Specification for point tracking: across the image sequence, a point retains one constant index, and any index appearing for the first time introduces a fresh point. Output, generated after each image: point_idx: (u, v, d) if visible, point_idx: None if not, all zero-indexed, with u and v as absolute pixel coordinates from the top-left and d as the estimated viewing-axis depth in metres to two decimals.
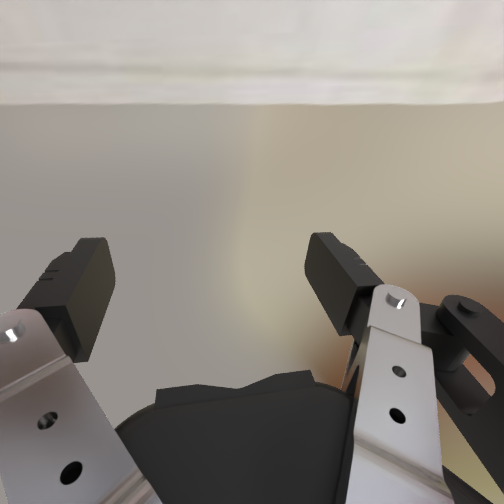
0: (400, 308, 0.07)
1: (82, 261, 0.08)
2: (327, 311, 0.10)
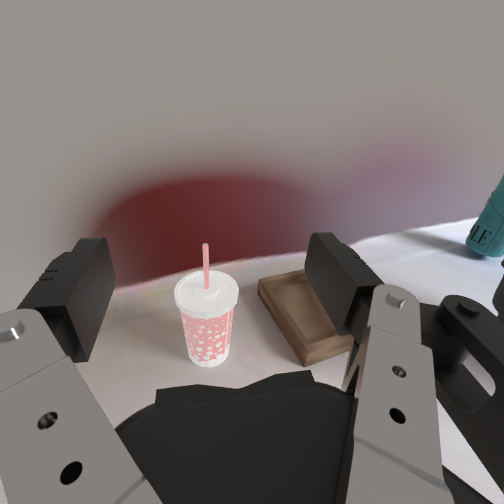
0: (400, 308, 0.07)
1: (82, 261, 0.08)
2: (327, 311, 0.10)
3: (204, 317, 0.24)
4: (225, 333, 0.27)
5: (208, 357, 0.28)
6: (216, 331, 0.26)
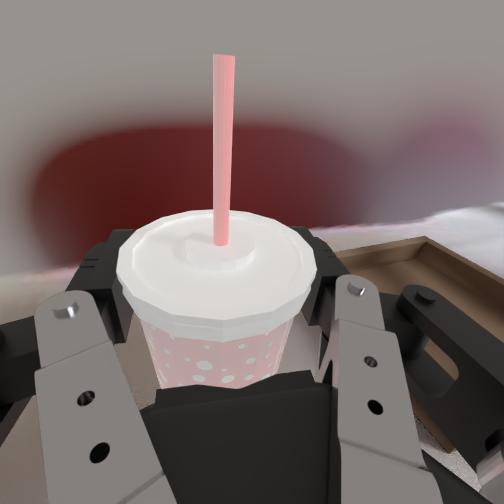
0: (359, 296, 0.08)
1: (118, 250, 0.09)
2: None
3: (214, 337, 0.07)
4: None
5: None
6: (248, 378, 0.08)
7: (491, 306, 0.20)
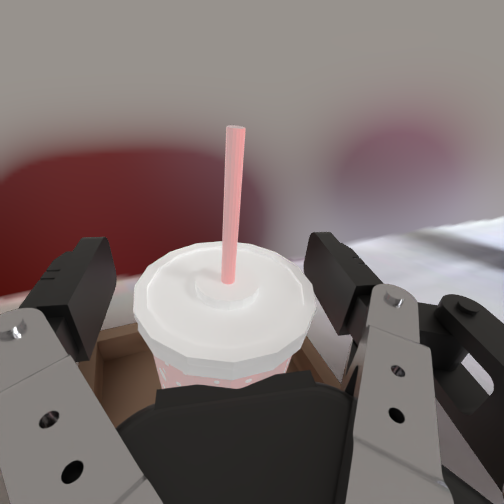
0: (398, 307, 0.07)
1: (83, 260, 0.08)
2: (326, 311, 0.10)
3: (224, 376, 0.07)
4: None
5: None
6: None
7: None
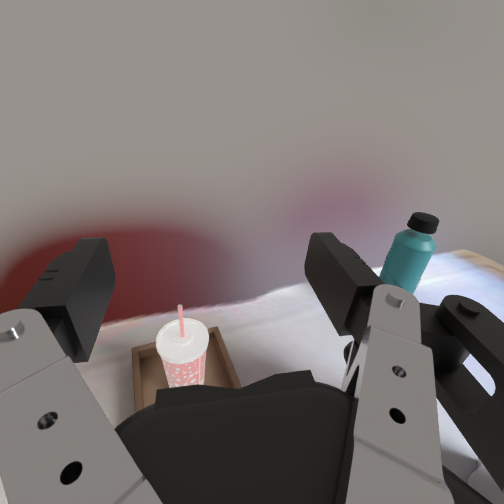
0: (400, 308, 0.07)
1: (82, 261, 0.08)
2: (327, 311, 0.10)
3: (179, 363, 0.30)
4: (198, 372, 0.33)
5: None
6: (190, 372, 0.32)
7: (225, 375, 0.38)
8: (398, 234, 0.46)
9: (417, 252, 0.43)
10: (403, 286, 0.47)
